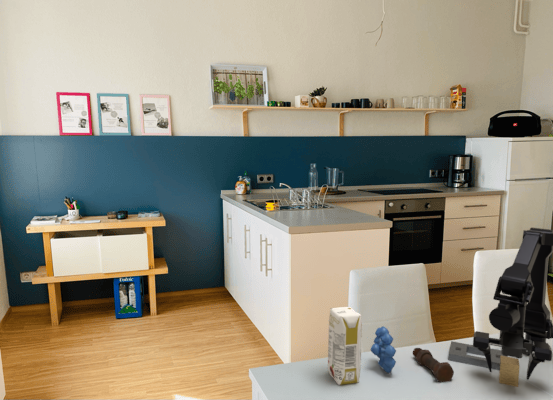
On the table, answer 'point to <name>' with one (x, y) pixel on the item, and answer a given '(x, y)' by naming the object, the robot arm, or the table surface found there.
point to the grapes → (384, 349)
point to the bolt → (434, 365)
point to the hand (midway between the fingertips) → (508, 375)
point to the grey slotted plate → (461, 349)
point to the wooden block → (509, 371)
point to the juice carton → (344, 345)
